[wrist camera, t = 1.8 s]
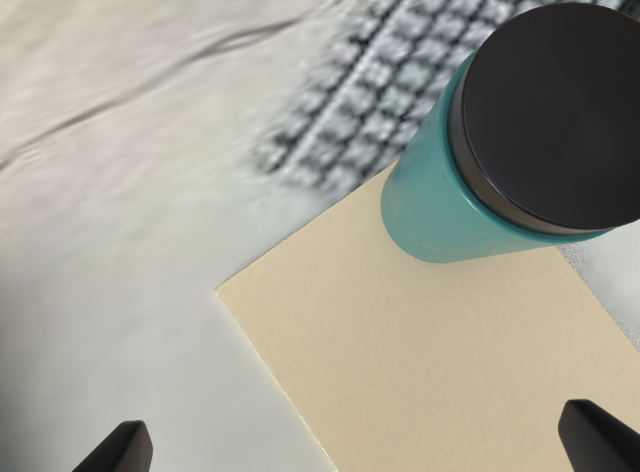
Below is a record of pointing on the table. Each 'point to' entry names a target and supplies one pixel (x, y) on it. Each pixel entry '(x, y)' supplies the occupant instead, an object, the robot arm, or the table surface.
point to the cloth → (429, 347)
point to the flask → (526, 141)
